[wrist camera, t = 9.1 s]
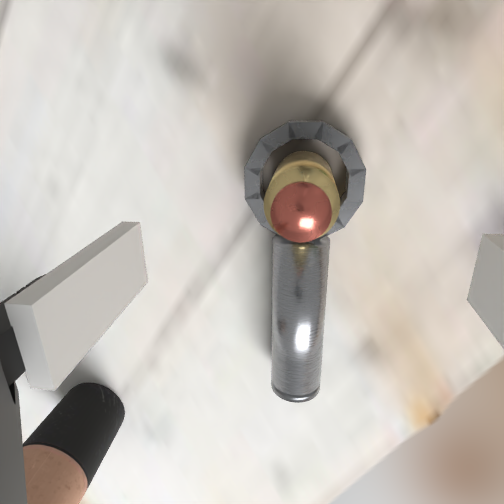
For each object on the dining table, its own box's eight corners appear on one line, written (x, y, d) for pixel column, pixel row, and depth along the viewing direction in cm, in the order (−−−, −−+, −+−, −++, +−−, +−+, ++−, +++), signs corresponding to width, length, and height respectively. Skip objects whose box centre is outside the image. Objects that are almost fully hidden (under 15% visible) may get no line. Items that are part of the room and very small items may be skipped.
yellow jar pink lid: (274, 150, 31) (260, 171, 22) (335, 151, 30) (346, 174, 21) (273, 207, 33) (259, 249, 24) (330, 210, 32) (338, 253, 23)
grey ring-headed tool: (247, 120, 30) (237, 124, 26) (367, 120, 29) (376, 124, 25) (251, 365, 39) (244, 397, 35) (342, 372, 38) (346, 407, 34)
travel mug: (106, 441, 46) (-27, 666, 28) (54, 404, 45) (-120, 614, 27) (139, 408, 44) (16, 635, 25) (85, 369, 42) (-86, 575, 24)
